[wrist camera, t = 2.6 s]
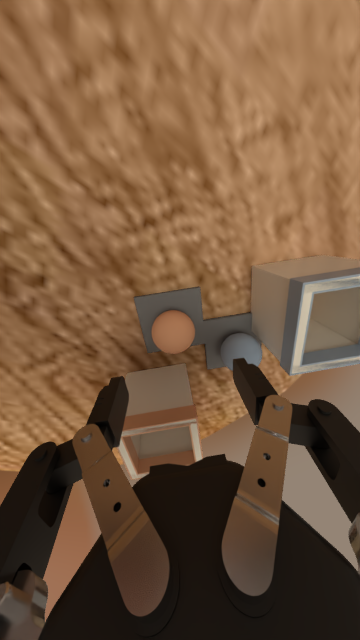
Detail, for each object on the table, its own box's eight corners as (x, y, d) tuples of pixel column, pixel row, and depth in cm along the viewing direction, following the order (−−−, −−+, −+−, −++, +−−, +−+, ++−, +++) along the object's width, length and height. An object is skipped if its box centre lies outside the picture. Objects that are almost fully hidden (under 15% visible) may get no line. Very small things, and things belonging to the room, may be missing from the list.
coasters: (134, 296, 20) (133, 298, 19) (263, 276, 20) (265, 277, 20) (154, 376, 24) (154, 378, 24) (258, 358, 25) (260, 360, 24)
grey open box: (125, 372, 24) (109, 432, 17) (186, 361, 24) (197, 417, 17) (139, 414, 27) (131, 480, 20) (193, 405, 27) (204, 466, 20)
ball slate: (215, 329, 22) (226, 350, 18) (251, 323, 22) (271, 343, 18) (217, 359, 24) (228, 385, 20) (250, 354, 24) (268, 378, 20)
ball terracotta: (148, 307, 20) (145, 325, 16) (189, 301, 20) (196, 317, 16) (156, 342, 22) (155, 366, 18) (193, 336, 22) (200, 358, 18)
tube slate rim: (250, 264, 19) (303, 283, 12) (324, 253, 20) (418, 264, 12) (248, 330, 23) (289, 375, 16) (311, 320, 23) (380, 360, 16)
